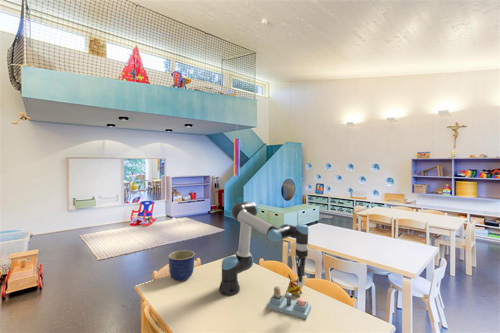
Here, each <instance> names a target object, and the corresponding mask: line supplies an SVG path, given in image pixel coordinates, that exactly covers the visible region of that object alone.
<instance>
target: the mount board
mask: <svg viewBox="0 0 500 333" xmlns="http://www.w3.org/2000/svg"><path fill="white" fill-rule="evenodd" d="M298 299H299V298H297V299H296V300H293V299H291V306H287V297H285V295H282V294H281V299H280V300H278V299H274V293H273V294H272V295H271V297H270V299H269V300H268V302H267V303H266V308H267V309H269V310H274V311H277V312H280V313H282V314H283V313H284V314H286V315H290V316H293V317H298V318H300V319H304V320H307V319H308V317H309V314H310V312H311V309H312V305H311V304H309V301H307V300H305V306H301V305H298Z"/></svg>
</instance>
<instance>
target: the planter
mask: <svg viewBox="0 0 500 333" xmlns="http://www.w3.org/2000/svg"><path fill="white" fill-rule="evenodd" d="M195 255H196V254H195V252H194V251H192V250H185V249H182V250H176V251H173V252H171V253H169V254H168V268H169V269H168V271H169V276H170V278H171V279H173V281H178V282H182V281H186V280H188V279H190V278H191V277H192V276H193V273H194V269H195Z"/></svg>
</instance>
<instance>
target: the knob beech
mask: <svg viewBox="0 0 500 333" xmlns="http://www.w3.org/2000/svg"><path fill="white" fill-rule="evenodd" d="M281 289H282V288H281V287H280V286H279V285H278V286H273V294H274V299H278V300H280V299H281V295H282V293H281V291H282V290H281Z"/></svg>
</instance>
